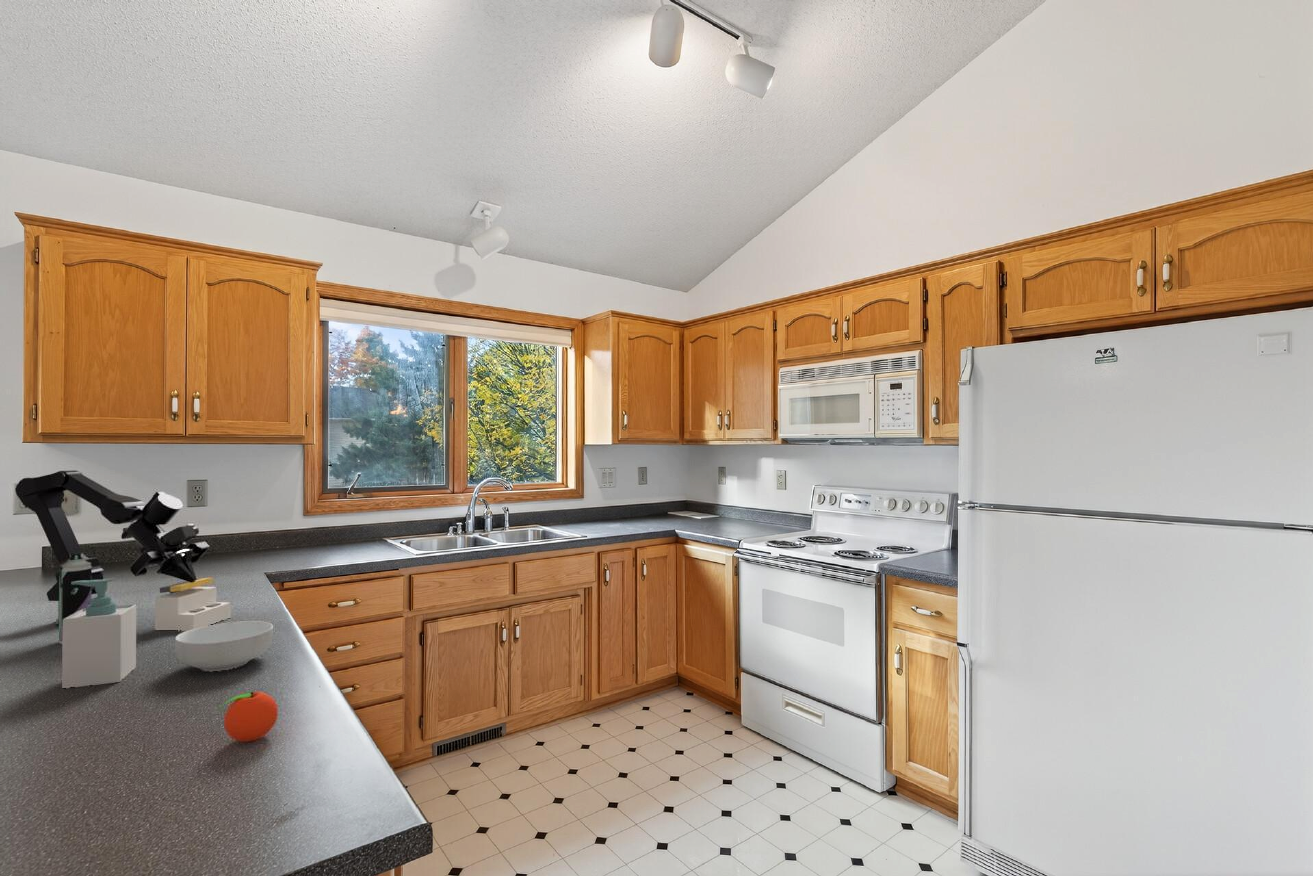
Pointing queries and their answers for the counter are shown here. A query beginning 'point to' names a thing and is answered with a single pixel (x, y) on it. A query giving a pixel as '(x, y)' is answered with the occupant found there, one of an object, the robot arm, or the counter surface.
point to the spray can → (73, 588)
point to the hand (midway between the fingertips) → (194, 580)
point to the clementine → (250, 716)
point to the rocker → (185, 585)
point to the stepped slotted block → (190, 609)
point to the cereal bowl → (223, 644)
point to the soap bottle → (98, 641)
